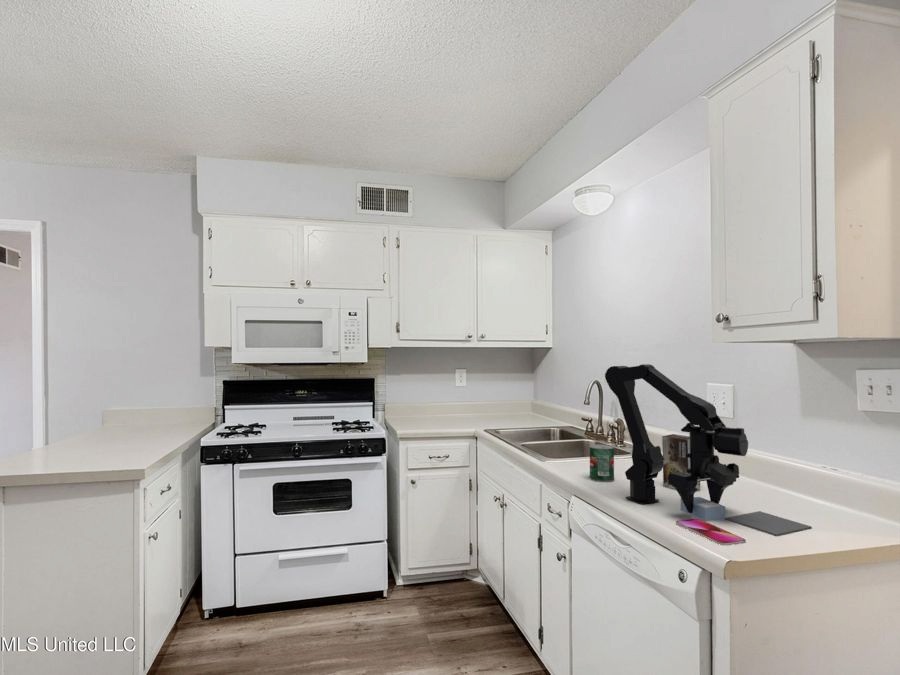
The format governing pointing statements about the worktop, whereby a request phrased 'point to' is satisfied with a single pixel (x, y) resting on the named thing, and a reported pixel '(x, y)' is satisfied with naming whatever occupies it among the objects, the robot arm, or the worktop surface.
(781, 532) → the mat
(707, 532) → the smartphone
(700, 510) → the card box
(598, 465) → the canned tomato
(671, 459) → the coffee box
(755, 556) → the worktop surface
